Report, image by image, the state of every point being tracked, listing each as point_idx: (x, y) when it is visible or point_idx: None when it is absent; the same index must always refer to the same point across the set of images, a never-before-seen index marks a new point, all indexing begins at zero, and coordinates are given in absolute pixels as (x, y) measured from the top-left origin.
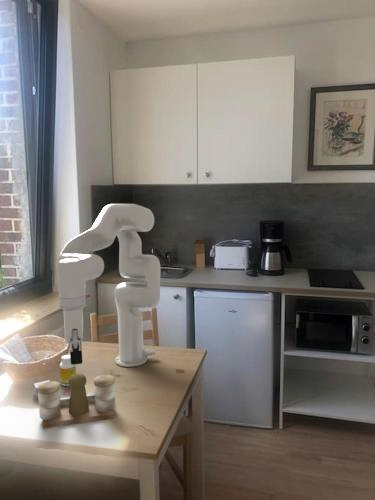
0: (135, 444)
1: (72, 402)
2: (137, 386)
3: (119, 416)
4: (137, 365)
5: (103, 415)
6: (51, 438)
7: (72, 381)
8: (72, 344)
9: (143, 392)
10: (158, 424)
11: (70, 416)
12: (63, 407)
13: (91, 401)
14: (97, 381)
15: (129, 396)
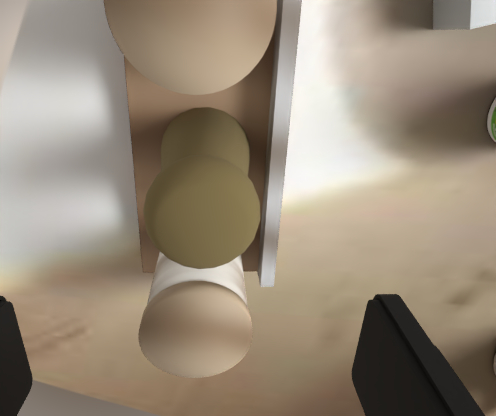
0: None
1: (171, 140)
2: (344, 345)
3: None
4: (494, 361)
5: (140, 239)
6: (28, 18)
7: (155, 191)
8: (404, 379)
9: (294, 356)
10: (78, 370)
11: (157, 113)
12: (252, 84)
13: (262, 205)
14: (176, 309)
15: (284, 318)
